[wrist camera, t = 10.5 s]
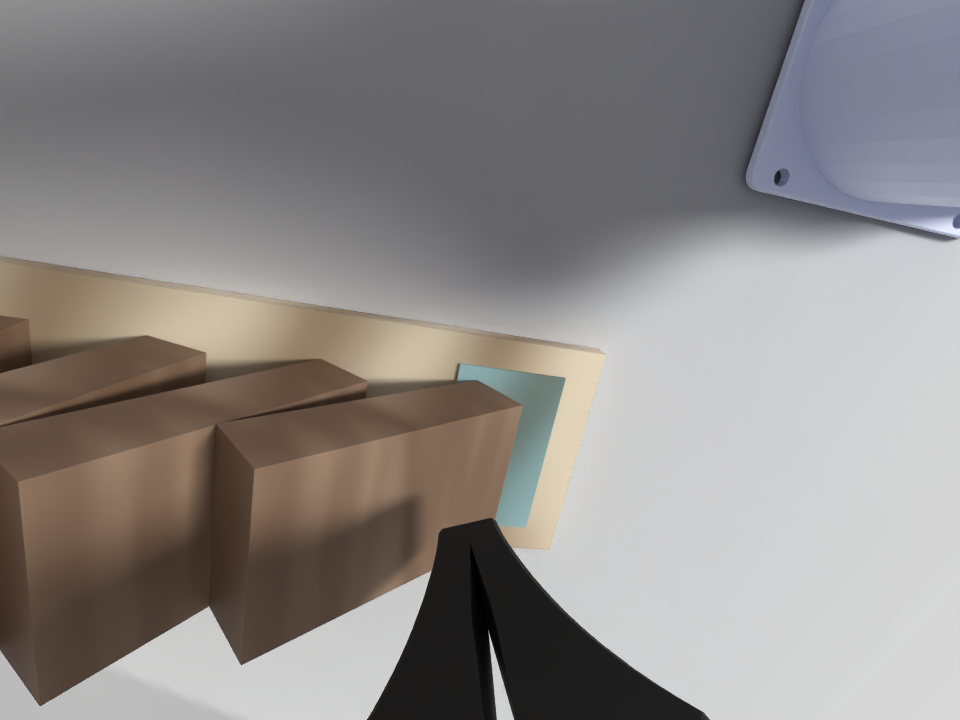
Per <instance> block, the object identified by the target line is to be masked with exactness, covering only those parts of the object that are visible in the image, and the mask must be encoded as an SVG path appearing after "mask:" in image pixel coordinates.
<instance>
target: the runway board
mask: <svg viewBox="0 0 960 720" xmlns="http://www.w3.org/2000/svg"><path fill="white" fill-rule="evenodd" d="M0 315H1V316H8V317H16V318H23V319H29V329H30V341H31V354H32V365H34V364H38V363H42V362H46V361H49V360H53V359H57V358H61V357H65V356H69V355H73V354H76V353H80V352H84V351H88V350H92V349H96V348H100V347H103V346H107V345H111V344H115V343H119V342H123V341H126V340H130V339H134V338H138V337H142V336H146V335H148V336H151V337H155V338H158V339H162V340H165V341H168V342H172V343H175V344H179V345H182V346H186V347H189V348H192V349H196V350H199V351H203V352H206V383H209V382H214V381H219V380H223V379H228V378H233V377H237V376H242V375H247V374H251V373H256V372H261V371H265V370H270V369H275V368H279V367H284V366H289V365H294V364H298V363H303V362H308V361H312V360H317V359H322V360H324V361H327V362H329V363H331V364H333V365H335V366H337V367H339V368H342V369H344V370H346V371H348V372H350V373H352V374H354V375H356V376H359V377H361V378H363V379H365V380H367V381H368V385H367V392H366V399H367V398H373V397H379V396H385V395H390V394H396V393H402V392H408V391H414V390H420V389H426V388H432V387H438V386H444V385H450V384H456V383H462V382H468V381H474V380H478V381H480V382H482V383H484V384H486V385H487V386H489V387H491V388H493V389H495V390H496V391H498V392H500V393H502V394H504V395H506V396H507V397H509V398H511V399H513V400H515V401H516V402H518V403H520V404H522V405H523V407H522V411H521V415H520V419H519V423H518V427H517V432H516V436H515V440H514V444H513V448H512V452H511V456H510V460H509V464H508V468H507V472H506V477H505V481H504V485H503V489H502V493H501V497H500V501H499V505H498V509H497V513H496V517H495V520H496V521H497V524H498V526H499V528H500V530H501V532H502V534H503V535H504V537H505V539H506V540H507V542H508V543H509V545H510V546H511V547H512V548H526V549H541V550H549V549H550V546H551V542H552V539H553V536H554V532H555V529H556V525H557V522H558V518H559V515H560V512H561V508H562V505H563V501H564V498H565V494H566V491H567V487H568V484H569V481H570V477H571V474H572V470H573V467H574V463H575V460H576V456H577V453H578V450H579V446H580V443H581V439H582V436H583V432H584V429H585V425H586V422H587V419H588V415H589V412H590V408H591V405H592V401H593V398H594V395H595V391H596V388H597V384H598V381H599V377H600V374H601V370H602V367H603V364H604V360H605V357H606V354H604V353H603V352H602V351H601V350H600V349H595V348H589V347H582V346H576V345H569V344H563V343H556V342H550V341H543V340H537V339H531V338H524V337H518V336H511V335H505V334H498V333H492V332H485V331H479V330H472V329H466V328H459V327H453V326H446V325H440V324H433V323H427V322H421V321H414V320H408V319H401V318H395V317H388V316H382V315H375V314H369V313H362V312H356V311H349V310H343V309H336V308H330V307H323V306H317V305H311V304H304V303H298V302H291V301H285V300H278V299H272V298H265V297H259V296H252V295H246V294H239V293H233V292H226V291H220V290H213V289H207V288H201V287H194V286H188V285H181V284H175V283H168V282H162V281H155V280H149V279H142V278H136V277H129V276H123V275H116V274H110V273H103V272H97V271H91V270H84V269H78V268H71V267H65V266H58V265H52V264H45V263H39V262H32V261H26V260H19V259H13V258H6V257H0Z"/></svg>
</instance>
